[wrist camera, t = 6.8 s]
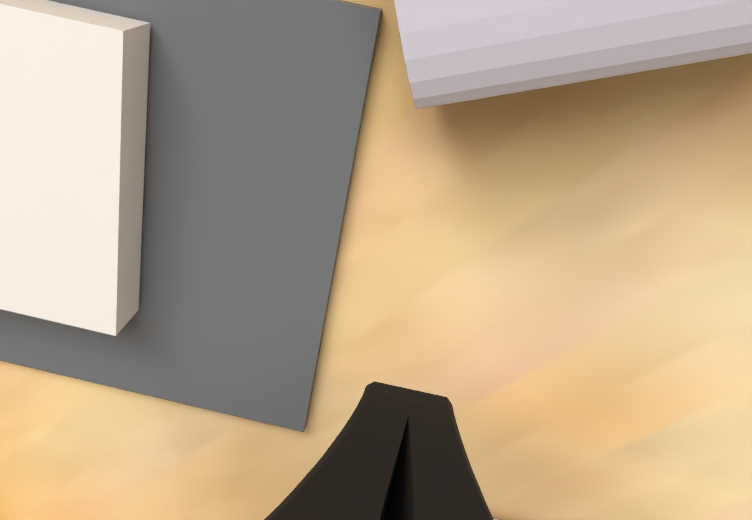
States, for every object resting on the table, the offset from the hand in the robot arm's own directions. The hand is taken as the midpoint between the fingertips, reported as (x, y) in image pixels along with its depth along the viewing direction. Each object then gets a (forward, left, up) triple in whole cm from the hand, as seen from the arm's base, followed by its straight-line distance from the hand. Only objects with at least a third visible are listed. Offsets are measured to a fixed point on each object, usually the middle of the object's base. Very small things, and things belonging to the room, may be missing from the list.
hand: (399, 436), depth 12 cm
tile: (-1, +8, -8) cm, 12 cm away
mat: (-2, +10, -10) cm, 14 cm away
